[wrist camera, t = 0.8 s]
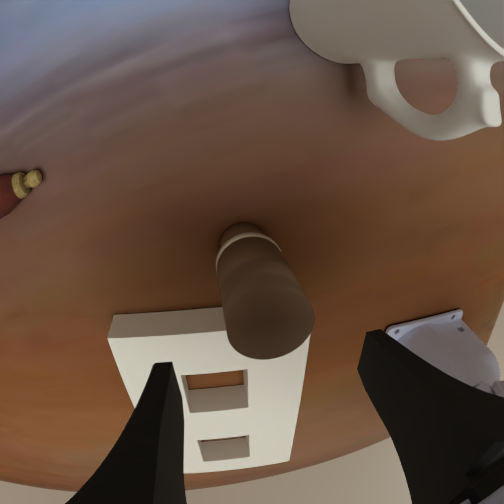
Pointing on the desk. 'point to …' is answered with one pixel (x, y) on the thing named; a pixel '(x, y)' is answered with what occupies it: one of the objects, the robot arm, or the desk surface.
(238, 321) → the peg
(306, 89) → the desk surface
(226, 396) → the board
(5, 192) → the gavel
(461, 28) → the mug
